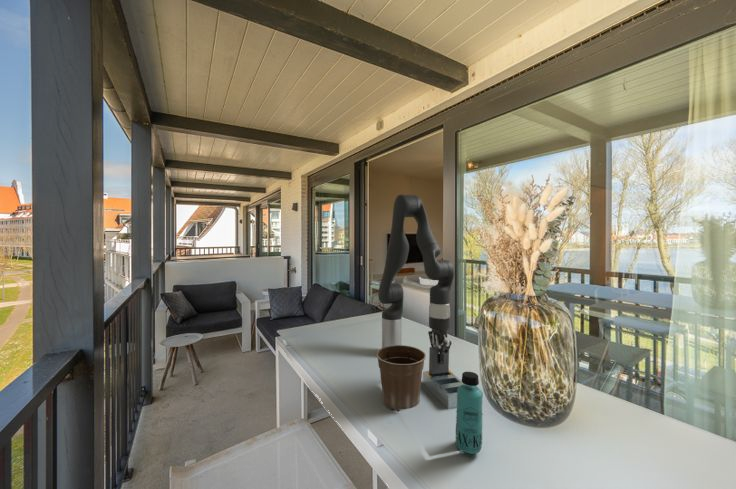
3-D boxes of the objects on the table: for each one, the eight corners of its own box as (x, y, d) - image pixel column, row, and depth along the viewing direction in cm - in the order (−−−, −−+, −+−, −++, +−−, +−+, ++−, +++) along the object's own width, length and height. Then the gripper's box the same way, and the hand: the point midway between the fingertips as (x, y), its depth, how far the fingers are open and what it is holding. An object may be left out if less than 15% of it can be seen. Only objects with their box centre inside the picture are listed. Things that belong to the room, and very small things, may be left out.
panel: (429, 371, 110) (429, 347, 110) (445, 369, 112) (446, 345, 112) (431, 374, 108) (432, 349, 108) (448, 372, 110) (449, 347, 110)
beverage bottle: (451, 443, 80) (452, 368, 80) (475, 442, 81) (476, 367, 80) (461, 461, 74) (462, 380, 73) (487, 459, 74) (488, 379, 74)
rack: (422, 385, 112) (423, 370, 112) (446, 381, 115) (446, 368, 115) (448, 412, 95) (448, 395, 95) (475, 407, 97) (475, 391, 97)
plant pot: (392, 421, 90) (393, 367, 89) (367, 396, 104) (367, 349, 104) (435, 407, 97) (436, 358, 97) (406, 385, 111) (407, 342, 111)
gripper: (421, 311, 116) (421, 356, 116) (439, 320, 102) (439, 371, 103) (439, 310, 118) (439, 354, 118) (459, 319, 104) (458, 369, 105)
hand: (439, 362), depth 110 cm, fingers closed on panel, 1 cm apart
